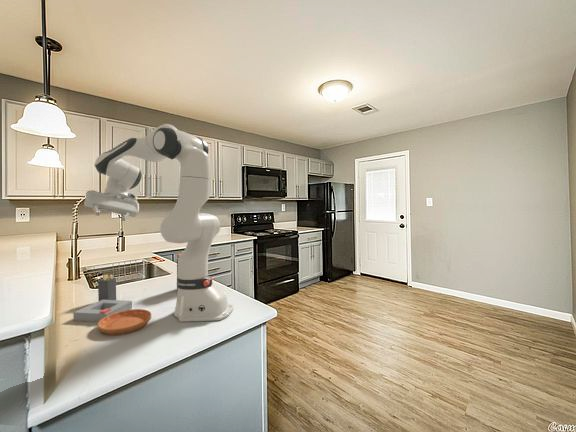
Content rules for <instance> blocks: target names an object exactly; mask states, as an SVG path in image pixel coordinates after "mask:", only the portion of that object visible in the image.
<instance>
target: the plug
mask: <svg viewBox="0 0 576 432" xmlns="http://www.w3.org/2000/svg"><path fill="white" fill-rule="evenodd" d="M113 276H114V275H113V274H110V275H109V274H104V275H102V278H100V279H98V280H97V286H98V287H97V291H98V301H100V300H117V277H113Z"/></svg>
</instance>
